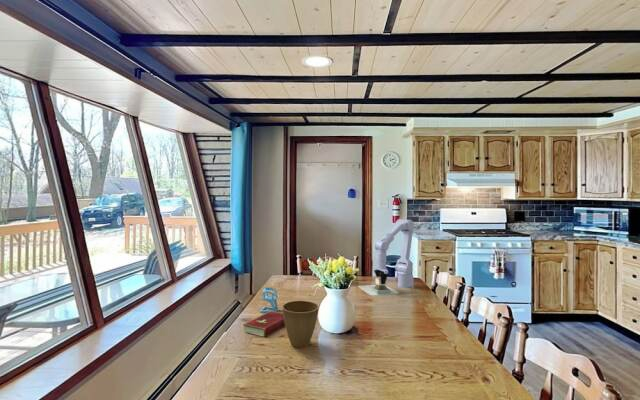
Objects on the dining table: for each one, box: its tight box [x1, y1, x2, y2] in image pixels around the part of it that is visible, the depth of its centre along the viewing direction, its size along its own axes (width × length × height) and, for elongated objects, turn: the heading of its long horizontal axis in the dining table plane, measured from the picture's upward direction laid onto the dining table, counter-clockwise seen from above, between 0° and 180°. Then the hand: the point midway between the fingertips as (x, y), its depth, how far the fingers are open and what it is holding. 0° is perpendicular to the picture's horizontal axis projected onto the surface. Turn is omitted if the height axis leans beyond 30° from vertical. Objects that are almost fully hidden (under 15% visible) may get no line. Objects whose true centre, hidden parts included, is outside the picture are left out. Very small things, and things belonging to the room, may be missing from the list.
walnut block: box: [374, 284, 388, 290], centre depth 232 cm, size 5×5×4 cm
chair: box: [259, 287, 279, 314], centre depth 198 cm, size 8×8×12 cm
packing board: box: [357, 284, 399, 296], centre depth 238 cm, size 19×22×3 cm
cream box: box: [375, 276, 388, 286], centre depth 232 cm, size 5×5×4 cm
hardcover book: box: [242, 311, 285, 338], centre depth 176 cm, size 12×21×4 cm, turn 151°
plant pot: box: [282, 300, 320, 349], centre depth 157 cm, size 15×15×16 cm
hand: (381, 282), depth 232 cm, fingers closed on cream box, 5 cm apart
